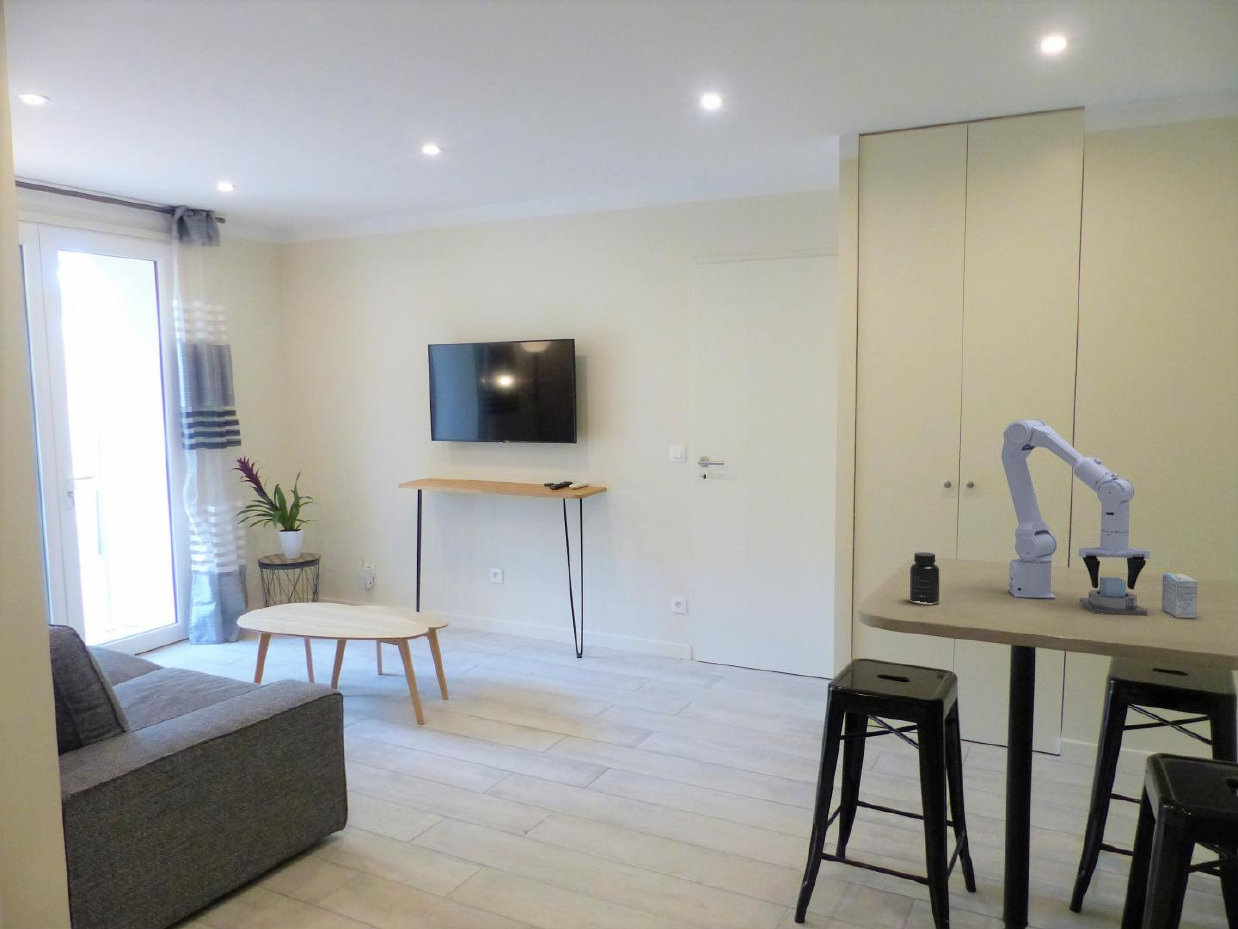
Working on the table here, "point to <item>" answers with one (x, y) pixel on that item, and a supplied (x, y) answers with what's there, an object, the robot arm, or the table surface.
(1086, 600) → the square plate with ring
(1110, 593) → the pale blue block
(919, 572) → the supplement bottle
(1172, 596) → the medicine box
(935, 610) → the table surface
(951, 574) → the table surface
